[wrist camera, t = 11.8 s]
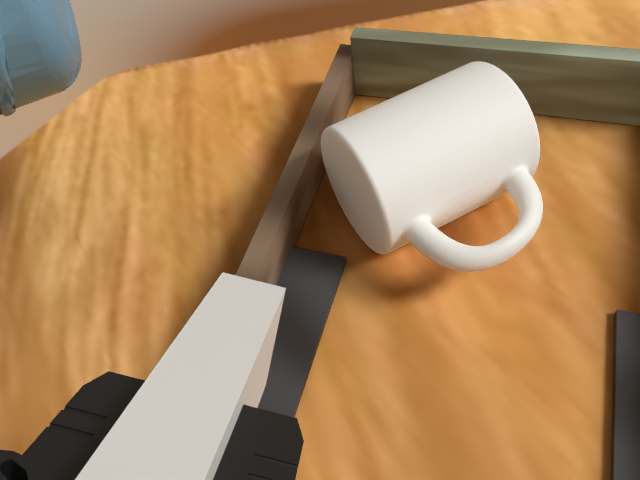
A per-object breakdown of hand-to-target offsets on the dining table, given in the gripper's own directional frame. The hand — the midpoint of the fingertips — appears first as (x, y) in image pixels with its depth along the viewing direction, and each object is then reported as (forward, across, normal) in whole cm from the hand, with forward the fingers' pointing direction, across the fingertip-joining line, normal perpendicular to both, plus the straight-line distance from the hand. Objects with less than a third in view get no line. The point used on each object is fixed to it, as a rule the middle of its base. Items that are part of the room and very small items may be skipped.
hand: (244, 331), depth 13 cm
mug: (+23, +7, -3) cm, 24 cm away
